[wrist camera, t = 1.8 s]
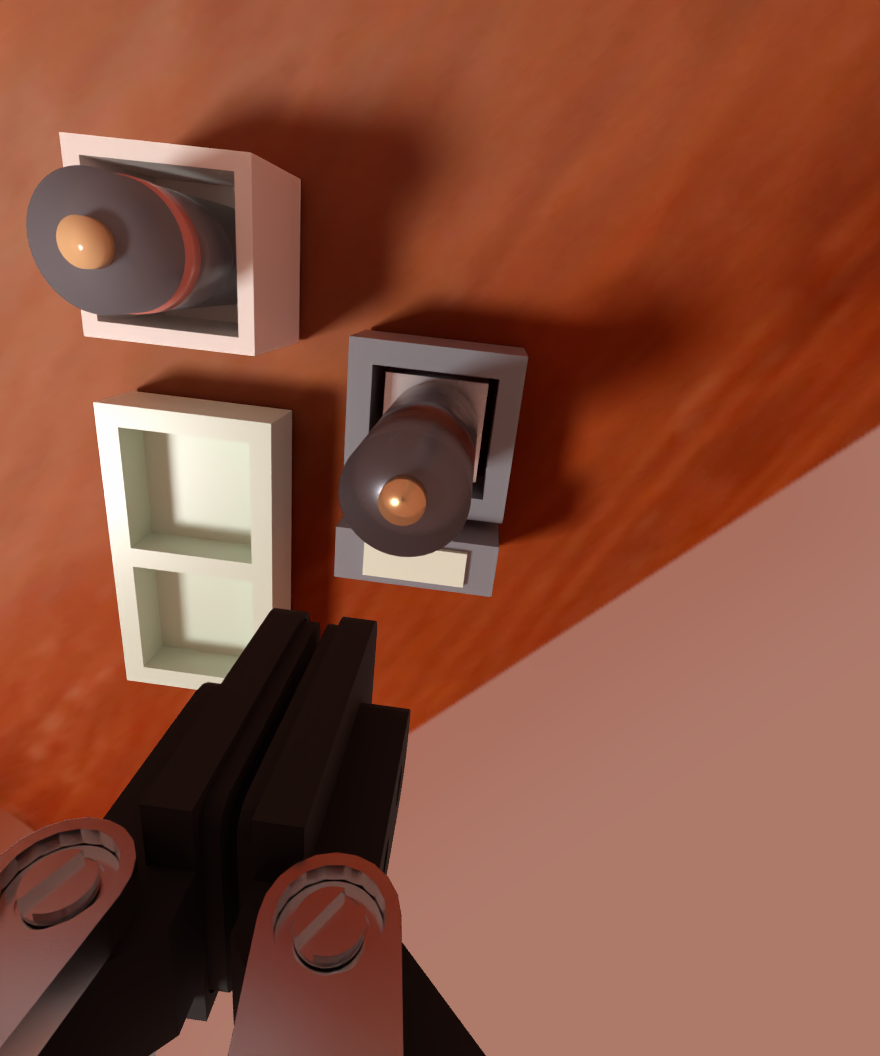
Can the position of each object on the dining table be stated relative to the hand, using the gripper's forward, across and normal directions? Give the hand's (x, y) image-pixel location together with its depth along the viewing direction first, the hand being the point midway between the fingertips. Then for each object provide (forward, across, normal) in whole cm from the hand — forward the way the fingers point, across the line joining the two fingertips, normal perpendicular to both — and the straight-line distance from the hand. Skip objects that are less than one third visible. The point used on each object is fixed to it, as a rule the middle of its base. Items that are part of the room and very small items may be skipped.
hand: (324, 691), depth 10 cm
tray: (+20, +11, +8) cm, 24 cm away
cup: (+20, +10, -6) cm, 23 cm away
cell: (+18, 0, 0) cm, 18 cm away
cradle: (+20, 0, +1) cm, 20 cm away
